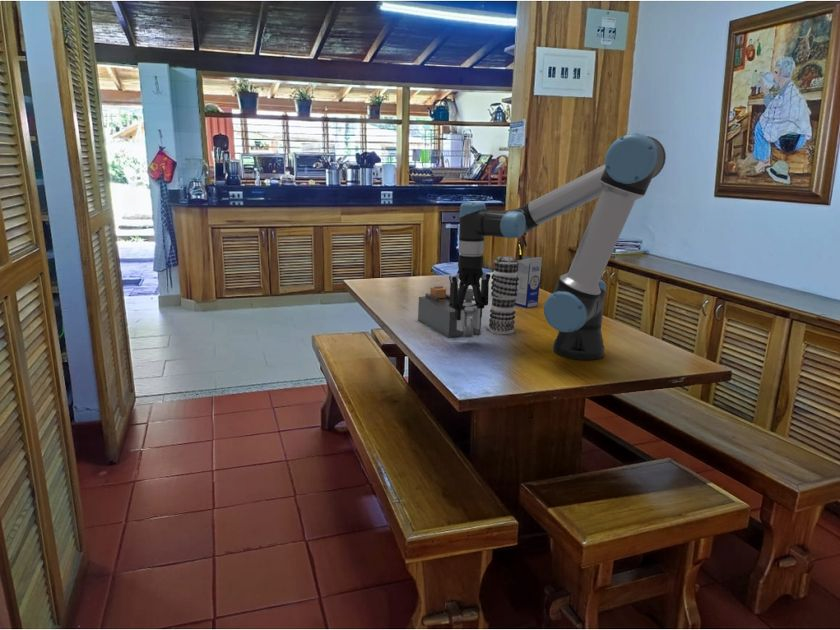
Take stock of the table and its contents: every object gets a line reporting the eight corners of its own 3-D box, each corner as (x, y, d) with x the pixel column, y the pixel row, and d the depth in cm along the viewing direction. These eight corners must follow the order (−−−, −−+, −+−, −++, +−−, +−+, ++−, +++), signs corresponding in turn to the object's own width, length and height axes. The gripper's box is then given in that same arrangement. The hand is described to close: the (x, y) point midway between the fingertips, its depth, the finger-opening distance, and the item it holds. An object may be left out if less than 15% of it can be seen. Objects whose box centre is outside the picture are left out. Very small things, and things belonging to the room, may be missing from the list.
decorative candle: (484, 332, 195) (489, 258, 189) (491, 325, 203) (496, 254, 197) (511, 335, 192) (517, 260, 185) (517, 328, 200) (523, 256, 194)
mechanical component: (481, 318, 212) (482, 291, 209) (453, 315, 214) (454, 289, 211) (482, 316, 215) (483, 289, 212) (454, 313, 217) (455, 287, 214)
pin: (479, 337, 180) (480, 305, 178) (465, 339, 178) (466, 307, 175) (470, 333, 185) (471, 302, 182) (456, 334, 182) (457, 303, 180)
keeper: (445, 297, 203) (446, 287, 202) (435, 298, 201) (436, 288, 201) (440, 295, 207) (440, 285, 206) (430, 295, 205) (430, 285, 204)
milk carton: (526, 308, 229) (531, 258, 224) (513, 304, 234) (517, 255, 229) (537, 306, 233) (542, 256, 228) (524, 302, 238) (528, 254, 233)
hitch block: (480, 333, 193) (482, 306, 190) (448, 337, 187) (450, 309, 185) (447, 317, 212) (448, 291, 209) (417, 320, 206) (418, 294, 204)
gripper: (489, 251, 182) (486, 323, 188) (438, 254, 174) (436, 329, 180) (503, 254, 176) (499, 328, 182) (450, 257, 168) (448, 335, 173)
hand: (468, 328), depth 181 cm, fingers closed on pin, 5 cm apart
